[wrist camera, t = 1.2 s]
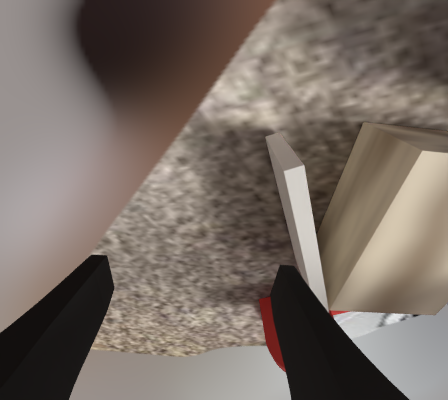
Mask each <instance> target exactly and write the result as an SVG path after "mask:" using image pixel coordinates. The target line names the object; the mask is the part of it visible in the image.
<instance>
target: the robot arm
mask: <svg viewBox="0 0 448 400" xmlns="http://www.w3.org/2000/svg"><path fill="white" fill-rule="evenodd" d="M113 291H114V284H113V279H112V275H111V270H110V266H109V262H108V257H107V256H106V255H91V256H89V257H88V258H87V259H86V260H85V261H84V262H83V263H82V264H81V265H79V266H78V267H77V268H76V269H75V270H74V271H73V272H72V273H71V274H70V275H69V276H67V277H66V278H65V279H64V280H63V281H62V282H61V283H60V284H59V285H57V286H56V287H55V288H54V289H53V290H52V291H51V292H49V293H48V294H47V295H46V296H45V297H44V298H43V299H41V300H40V301H39V302H38V303H37V304H36V305H34V306H33V307H32V308H31V309H30V310H29V311H27V312H26V313H25V314H23V315H22V316H21V317H20V318H18V319H17V320H16V321H15V322H14V323H12V324H11V325H10V326H9V327H7V328H6V329H5V330H4V331H2V332H1V333H0V400H69V398H70V395H71V392H72V389H73V387H74V384H75V382H76V380H77V377H78V375H79V372H80V370H81V368H82V366H83V364H84V362H85V359H86V357H87V355H88V353H89V351H90V348H91V346H92V344H93V342H94V340H95V337H96V335H97V333H98V331H99V329H100V326H101V324H102V322H103V320H104V317H105V315H106V313H107V310H108V307H109V304H110V301H111V298H112V294H113ZM270 298H271V307H272V314H273V321H274V325H275V329H276V333H277V338H278V342H279V346H280V350H281V354H282V358H283V362H284V366H285V370H286V374H287V379H288V384H289V388H290V394H291V400H409V399H408V398H407V397H406V396H405V395H404V394H403V393H402V392H401V391H399V390H398V389H397V387H395V386H394V385H393V384H392V383H391V382H390V381H389V380H388V379H387V378H386V377H385V376H384V375H383V374H382V373H381V372H380V371H379V370H378V369H377V368H376V366H375V365H374V364H373V363H372V362H371V361H370V360H369V359H368V358H367V357H366V356H365V355H364V354H363V353H362V352H361V350H360V349H359V348H358V347H357V346H356V345H355V344H354V343H353V342H352V340H351V339H350V338H349V337H348V336H347V334H346V333H345V332H344V331H343V330H342V328H341V327H340V326H339V325H338V324H337V322H336V321H335V320H334V319H333V317H332V316H331V315H330V314H329V312H328V311H327V310H326V308H325V307H324V306H323V305H322V303H321V302H320V301H319V299H318V298H317V297H316V295H315V294H314V293H313V291H312V290H311V289H310V287H309V286H308V284H307V283H306V282H305V280H304V279H303V278H302V276H301V275H300V273H299V272H298V271H297V269H296V268H295V267H294V266H288V265H280V267H279V270H278V273H277V276H276V279H275V282H274V285H273V288H272V291H271V294H270ZM447 304H448V303H447Z"/></svg>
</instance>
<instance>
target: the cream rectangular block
mask: <svg viewBox="0 0 448 400" xmlns="http://www.w3.org/2000/svg"><path fill="white" fill-rule="evenodd" d="M316 238H317V244H318V250H319V256H320V261H321V267H322V273H323V279H324V285H325V291H326V297H327V303H328V309H329V310H333V311H355V312H377V313H398V314H420V315H436V314H437V313H438V312H439V311H440V310H441V309H442V308H443V307H444V306H445V305H446V304H447V303H448V131H442V130H433V129H423V128H414V127H405V126H396V125H387V124H378V123H369V122H363V125H362V127H361V130H360V132H359V134H358V137H357V139H356V142H355V144H354V146H353V149H352V151H351V154H350V156H349V158H348V161H347V163H346V166H345V168H344V170H343V173H342V175H341V178H340V180H339V182H338V185H337V187H336V190H335V192H334V194H333V197H332V199H331V202H330V204H329V206H328V209H327V211H326V214H325V216H324V218H323V221H322V223H321V226H320V228H319V230H318V233H317V235H316Z"/></svg>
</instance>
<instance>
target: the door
mask: <svg viewBox="0 0 448 400" xmlns="http://www.w3.org/2000/svg"><path fill="white" fill-rule="evenodd" d="M265 138H266V142H267V146H268V150H269V154H270V158H271V162H272V166H273V170H274V174H275V178H276V182H277V186H278V190H279V194H280V198H281V202H282V206H283V210H284V214H285V218H286V222H287V226H288V230H289V234H290V238H291V242H292V246H293V250H294V254H295V258H296V262H297V265H298V267H299V270H300V273H301V276H302V278H303V279H304V280H305V282H306V283H307V284H308V286H309V287H310V289H311V290H312V291H313V293H314V294H315V295H316V297H317V298H318V299H319V301H320V302H321V303H322V305H323V306H324V307H325V308H326V310H327V311H328V312H329V309H328V303H327V297H326V291H325V285H324V279H323V273H322V267H321V261H320V256H319V250H318V244H317V238H316V232H315V226H314V220H313V214H312V208H311V203H310V197H309V191H308V185H307V179H306V173H305V167H304V164H303V163H302V161H301V160H300V159H299V158H298V156H297V155H296V154H295V152H294V151H293V150H292V148H291V147H290V146H289V144H288V143H287V142H286V140H285V139H284V138H283V136H282V135H281V134H280V132H278V133H275V134H272V135H269V136H266V137H265Z"/></svg>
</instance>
